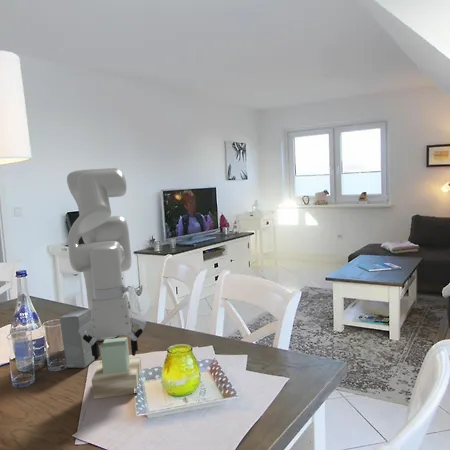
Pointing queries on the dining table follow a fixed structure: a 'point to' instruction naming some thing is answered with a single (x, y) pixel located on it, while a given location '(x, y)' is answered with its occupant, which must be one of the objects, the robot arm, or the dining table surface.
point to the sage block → (115, 355)
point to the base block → (116, 380)
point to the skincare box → (76, 338)
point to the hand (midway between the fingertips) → (115, 355)
